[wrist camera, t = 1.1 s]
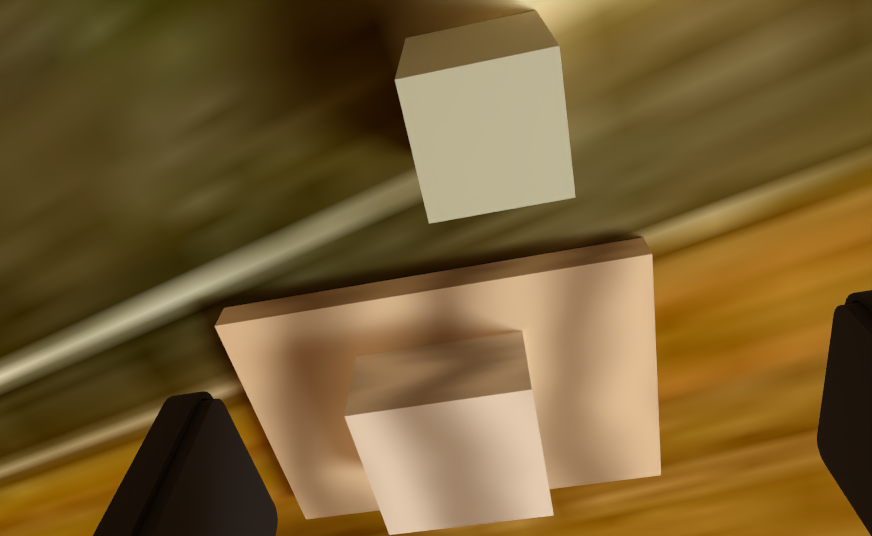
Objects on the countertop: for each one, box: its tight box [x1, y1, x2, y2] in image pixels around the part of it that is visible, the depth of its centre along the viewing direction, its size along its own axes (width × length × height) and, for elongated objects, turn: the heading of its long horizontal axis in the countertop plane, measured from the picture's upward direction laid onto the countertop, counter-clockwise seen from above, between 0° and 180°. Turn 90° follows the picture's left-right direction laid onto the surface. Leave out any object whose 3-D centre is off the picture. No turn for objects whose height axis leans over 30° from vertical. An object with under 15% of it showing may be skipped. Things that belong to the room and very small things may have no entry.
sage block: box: [395, 10, 575, 223], centre depth 23 cm, size 5×5×6 cm
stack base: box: [215, 237, 661, 535], centre depth 31 cm, size 20×14×6 cm
